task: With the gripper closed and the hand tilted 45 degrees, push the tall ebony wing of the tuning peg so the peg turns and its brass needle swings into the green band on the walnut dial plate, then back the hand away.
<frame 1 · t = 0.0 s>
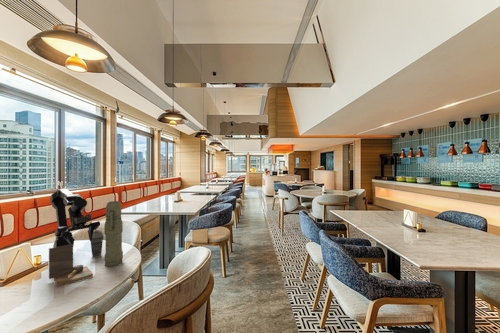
hand: (81, 243, 118), 15 cm above the table, tool tilted 30°, fingers open, 8 cm apart
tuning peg: (67, 260, 111), point 9 cm above the table, hinge at 2.1°, touching gripper
moai statue: (113, 264, 128), on the table
beverage cup: (96, 256, 140), on the table
dial plate: (77, 274, 116), on the table
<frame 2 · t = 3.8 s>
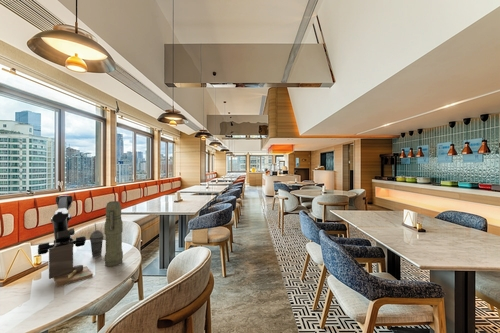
hand: (64, 259, 113), 9 cm above the table, tool tilted 45°, fingers closed, pressing on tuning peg
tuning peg: (67, 260, 111), point 9 cm above the table, hinge at 2.1°, touching gripper
everything else where it was.
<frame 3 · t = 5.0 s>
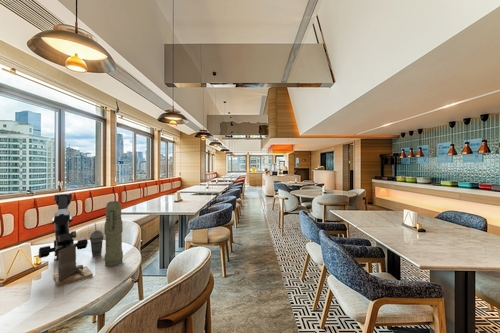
hand: (66, 263, 110), 8 cm above the table, tool tilted 45°, fingers closed
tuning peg: (76, 260, 112), point 9 cm above the table, hinge at 43.6°, touching gripper
everything else where it was.
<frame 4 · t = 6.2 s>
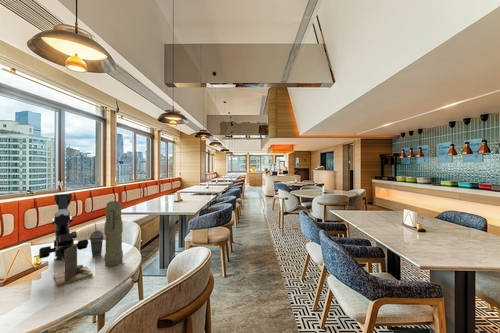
hand: (66, 263, 110), 8 cm above the table, tool tilted 45°, fingers closed
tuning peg: (79, 259, 112), point 9 cm above the table, hinge at 57.3°
everything else where it was.
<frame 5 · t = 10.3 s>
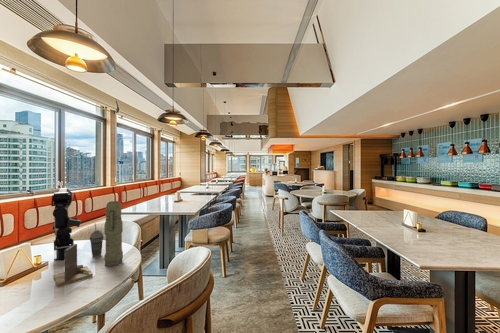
hand: (61, 244, 123), 13 cm above the table, tool pointing down, fingers closed
nothing on the table moved.
at the end: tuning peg at +57° (first picture: +2°) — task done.
